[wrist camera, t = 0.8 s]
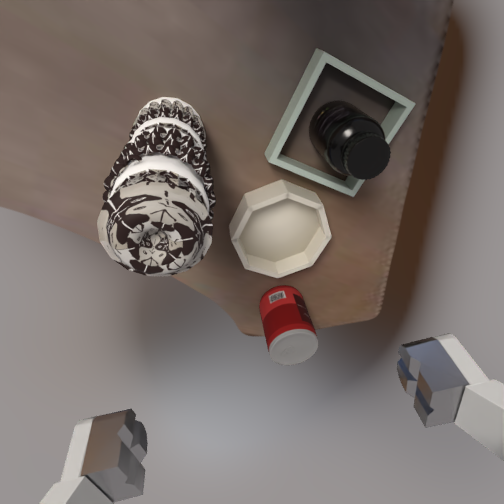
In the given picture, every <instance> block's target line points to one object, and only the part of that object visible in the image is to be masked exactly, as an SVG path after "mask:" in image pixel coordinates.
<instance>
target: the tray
mask: <svg viewBox="0 0 504 504" xmlns="http://www.w3.org/2000/svg"><path fill="white" fill-rule="evenodd" d="M326 63H328V64H330V65H332V66H334V67H335V68H337V69H339V70H341V71H342V72H344V73H346V74H348V75H350V76H351V77H353V78H355V79H357V80H359V81H360V82H362V83H364V84H366V85H368V86H369V87H371V88H373V89H375V90H377V91H378V92H380V93H382V94H384V95H385V96H387V97H389V98H391V99H393V100H394V101H395V103H394V105H393V106H392V108H391V109H390V111H389V112H388V114H387V116H386V117H385V119H384V120H383V122H382V123H381V127H382V129H383V131H384V134H385V140H386V142H387V143H388V144H389V143H390V142H391V140H392V139H393V137H394V136H395V134H396V133H397V131H398V130H399V128H400V127H401V125H402V124H403V122H404V121H405V119H406V118H407V116H408V115H409V113H410V112H411V110H412V109H413V107H414V106H415V104H416V103H414V102H412V101H410V100H409V99H407V98H405V97H403V96H402V95H400V94H398V93H396V92H394V91H393V90H391V89H389V88H387V87H386V86H384V85H382V84H380V83H379V82H377V81H375V80H373V79H372V78H370V77H368V76H366V75H365V74H363V73H361V72H359V71H358V70H356V69H354V68H352V67H351V66H349V65H347V64H345V63H344V62H342V61H340V60H338V59H337V58H335V57H333V56H331V55H330V54H328V53H326V52H324V51H322V50H320V49H318V48H316V50H315V52H314V54H313V56H312V58H311V60H310V62H309V64H308V66H307V68H306V70H305V72H304V74H303V76H302V78H301V80H300V82H299V84H298V86H297V88H296V90H295V92H294V94H293V96H292V98H291V100H290V102H289V104H288V106H287V108H286V110H285V113H284V115H283V117H282V119H281V121H280V123H279V125H278V127H277V129H276V131H275V133H274V135H273V137H272V139H271V141H270V143H269V145H268V147H267V149H266V151H265V153H264V154H265V156H266V158H267V160H268V162H270V163H272V164H275V165H277V166H279V167H282V168H284V169H287V170H289V171H292V172H294V173H296V174H299V175H301V176H304V177H306V178H308V179H311V180H313V181H316V182H318V183H321V184H323V185H325V186H328V187H330V188H333V189H335V190H338V191H340V192H342V193H345V194H347V195H350V196H352V197H354V196H355V194H356V193H357V191H358V190H359V188H360V187H361V185H362V184H363V182H364V181H365V180H361V179H357V178H354V177H353V176H348V177H347V179H346V180H345V181H343V180H341V179H338V178H336V177H334V176H331V175H329V174H327V173H324V172H322V171H320V170H317V169H315V168H313V167H310V166H308V165H306V164H303V163H301V162H299V161H296V160H294V159H292V158H289V157H287V156H285V155H282V154H280V151H281V149H282V147H283V145H284V143H285V141H286V140H287V138H288V136H289V134H290V132H291V130H292V128H293V126H294V124H295V122H296V120H297V118H298V116H299V114H300V112H301V110H302V108H303V106H304V105H305V103H306V101H307V99H308V97H309V95H310V93H311V91H312V89H313V87H314V85H315V83H316V81H317V79H318V77H319V75H320V73H321V71H322V69H323V68H324V66H325V64H326Z"/></svg>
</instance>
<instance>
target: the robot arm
mask: <svg viewBox="0 0 504 504" xmlns="http://www.w3.org/2000/svg"><path fill="white" fill-rule="evenodd" d="M398 353H399V355H400V356H401V359H400V360H399V361H398V362H397V370H398V375H399V378H400V381H401V383H402V386H403V388H404V390H405V391H406V393H408V394H409V395H411V396H412V397H414V398H415V400H414V408H415V410H416V412H417V413H418V415H419V417H420V419H421V421H422V422H423V424H424V426H425V427H426V428H427V427H432V426H436V425H442V424H446V423H451V422H455V424H456V425H457V426H459V427H460V428H461V429H462V430H464V431H465V432H466V433H468V434H469V435H470V436H472V437H473V438H474V439H476V440H477V441H478V442H480V443H481V444H482V445H484V446H485V447H486V448H487V449H489V450H490V451H491V452H493V453H494V454H495V455H497V456H498V457H499V458H501V459H502V460H503V461H504V384H503V383H501V382H499V381H497V380H496V379H493V380H489V379H488V378H487V376H486V375H485V374H484V372H483V371H482V370H481V369H480V367H479V366H478V365H477V363H475V361H474V360H473V358H472V357H471V356H470V355H469V353H468V352H467V351H466V349H465V348H464V347H463V346H462V344H461V343H460V342H459V341H458V339H457V338H456V337H455V336H454V335H452V334H444V335H440V336H437V337H430V338H426V339H422V340H418V341H414V342H411V343H407V344H403V345H401V346H400V347H399V351H398ZM135 417H136V414H135V413H134V411H133V410H132V409H127V410H123V411H118V412H114V413H110V414H106V415H101V416H95V417H91V418H87V419H83V420H79V421H78V423H77V424H76V426H75V428H74V431H73V435H72V439H71V443H70V447H69V450H68V454H67V458H66V462H65V465H64V469H63V473H62V477H61V480H60V482H56V483H55V484H54V485H53V486H52V487H51V489H50V490H49V492H48V493H47V494H46V495H45V497H44V498H43V499H42V501H41V502H40V503H39V504H114V502H117V501H121V500H125V499H128V498H132V497H136V496H140V495H143V488H144V478H145V469H144V467H143V466H142V464H141V462H142V460H143V459H144V457H145V456H146V454H147V434H146V430H145V428H144V425H143V424H142V423H141V422H139V421H137V420H135Z"/></svg>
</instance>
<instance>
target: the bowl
mask: <svg viewBox="0 0 504 504" xmlns="http://www.w3.org/2000/svg"><path fill="white" fill-rule="evenodd" d="M229 230H230V236H231V241H232V243H233V245H234V247H235V249H236V251H237V253H238V255H239V257H240V259H241V261H242V264H243V266H244V268H245V269H247V270H251V271H254V272H258V273H261V274H265V275H268V276H272V277H275V278H280V277H283V276H286V275H288V274H291V273H294V272H297V271H299V270H302V269H305V268H308V267H310V266H312V265H313V264H314V262H315V261H316V259H317V258H318V257H319V255H320V254H321V252H322V251H323V249H324V248H325V246H326V245H327V243H328V242H329V240H330V239H331V237H332V236H331V232H330V229H329V225H328V221H327V217H326V214H325V210H324V206H323V204H322V202H321V201H320V199H319V198H318V196H317V194H316V193H315V192H313V191H310V190H308V189H305V188H303V187H300V186H298V185H295V184H293V183H290V182H288V181H285V180H283V179H281V180H279V181H276V182H273V183H271V184H268V185H266V186H263V187H261V188H258V189H255V190H253V191H250V192H248V193H245V194H244V196H243V198H242V200H241V202H240V204H239V206H238V208H237V210H236V212H235V214H234V216H233V218H232V220H231V222H230V224H229Z"/></svg>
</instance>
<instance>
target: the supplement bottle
mask: <svg viewBox="0 0 504 504" xmlns="http://www.w3.org/2000/svg"><path fill="white" fill-rule="evenodd" d="M309 136H310V139H311V142H312V144H313V145H314V147H315V148H316V149H317V150H318V152H319V153H320V154H321V155H322V156H323V158H324V159H325V160H326V161H327V162H328V164H329V165H330V166H331V167H332V168H333V169H334V170H335V171H336V172H338V173H340V174H342V175H347V176H353V177H354V178H357V179H361V180H367V179H371V178H374V177H375V176H377V175H379V174H380V173H381V172H382V171H383V170H384V169H385V167H386V166H387V165H388V162H389V158H390V153H391V152H390V147H389V144H388V143H387V142H386V140H385V134H384V131H383V129H382V127H381V125H380V124H379V123H378V122H377V121H376V120H374V119H373V118H371V117H370V116H368V115H367V114H365V113H364V112H362V111H361V110H359V109H358V108H356V107H355V106H353V105H351V104H350V103H348V102H345V101H332V102H329V103H326V104H325V105H323V106H322V107H320V108H319V109H318V110H317V111H316V113H315V114H314V116H313V117H312V120H311V122H310V127H309Z"/></svg>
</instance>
